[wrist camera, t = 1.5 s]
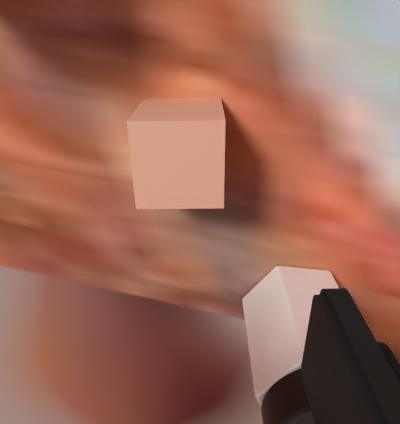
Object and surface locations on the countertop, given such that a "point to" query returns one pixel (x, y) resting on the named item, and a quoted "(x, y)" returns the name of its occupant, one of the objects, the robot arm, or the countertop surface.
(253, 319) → the jar
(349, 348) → the robot arm
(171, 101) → the top block
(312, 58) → the countertop surface
